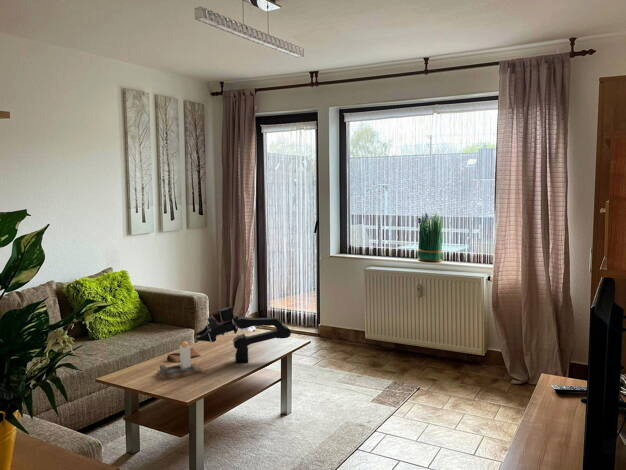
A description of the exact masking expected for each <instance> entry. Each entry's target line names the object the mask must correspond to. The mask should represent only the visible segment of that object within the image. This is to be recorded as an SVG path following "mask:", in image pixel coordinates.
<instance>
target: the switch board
mask: <svg viewBox="0 0 626 470" xmlns="http://www.w3.org/2000/svg"><path fill="white" fill-rule="evenodd" d="M202 373H203V369H202V368H201V367H200V366H199V365H197V364H196V363H191V367H188V368H183V369H181V368H180V364H175V365H171V366H170V365H169V366H166V365H165V364H161V365H159V369H158V370H157V374H158V375H159V376H160V377H161V379H163V380H164V381H165V380H171V379H175V378H181V377H187V376H191V375H197V374H202Z"/></svg>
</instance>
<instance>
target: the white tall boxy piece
mask: <svg viewBox="0 0 626 470" xmlns="http://www.w3.org/2000/svg"><path fill="white" fill-rule="evenodd" d="M190 349H191V346H190V344H189V342H188V341H182V342H181V343H180V345H179V352H180V362H179V363H180V364H179V365H180V368H181V369H183V368H188V367H191V364H192V361H191V360H192V358H191V356H190Z"/></svg>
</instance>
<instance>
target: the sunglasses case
mask: <svg viewBox="0 0 626 470" xmlns="http://www.w3.org/2000/svg"><path fill="white" fill-rule="evenodd" d="M190 356H191V359H194V358H198V357H201V356H202V355H201V354H200V353H198V352H197V351H196V350H195V349H194V347H190ZM166 359H167V362H170V363H174V364H179V363H180V351H178V352H173V353H169V354H168V355H167V358H166Z"/></svg>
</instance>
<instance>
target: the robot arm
mask: <svg viewBox="0 0 626 470" xmlns="http://www.w3.org/2000/svg"><path fill="white" fill-rule="evenodd" d="M218 311H219V316H220V319H221V321H223V322H222V323H221V322H218V319H216V318H215V317H214V316H213V315H212V314H211V315H210V316H209V317H208V318H206V320H207V324H206V325H205V327H204V328H203V329H200V331H199V330H198V332H196V333H195V336H196V337H195V340H196V341H199V342H200V341H202V342H209V343H215V342H216V341H217V336H224V335H225V334H227V333H230V332H233V333H234V335H236V334H237V332H238V331H239V329H240V330H242V329H243V330H244V329H248V328H251V327H260V326H261V327H263V326H264V327H265V326H267V327H268V326H274V327H275V328H274V329H273V330H269V331H266V332H261V333H256V334H253V335H250V336H249V335H246V334H245V333H242V334H240V335H239V334H237V335H236V336H235V337H234V338H233V339H232V345H233V347H234V349H236V351H235V362H236V364H244V363H245V364H246V363H247V364H248V363H249V346H250V345H252V344H257V343H260V342H265V341H270V340H274V339H288V338H289V337H290V336H291V334H292V333H291V329H290V328H289V327H288V326H287V325H284V324H283V323H282V322H280V320H278V317H275V316H273V317H254V318H253V317H248V316H242V315H240V316H237V315H234V313H233V309H232V306H228V307H223V308H220V309H219V310H218ZM197 336H198V337H197Z"/></svg>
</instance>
